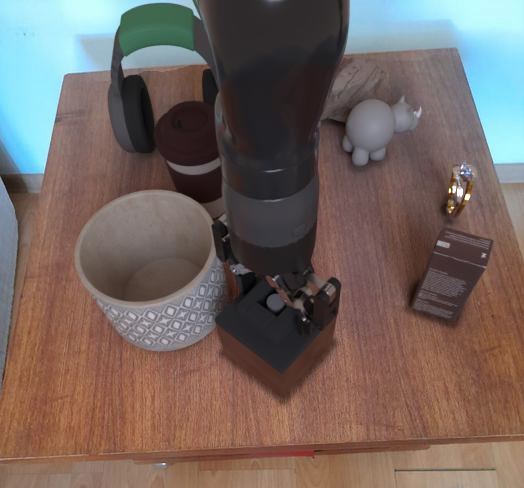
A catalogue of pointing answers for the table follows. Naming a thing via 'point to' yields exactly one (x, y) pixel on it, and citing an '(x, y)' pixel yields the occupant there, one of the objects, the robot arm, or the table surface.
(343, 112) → the stone
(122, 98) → the headphones
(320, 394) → the table surface
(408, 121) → the chubby cartoon animal
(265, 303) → the top pad
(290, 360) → the base pad
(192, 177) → the coffee cup
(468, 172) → the ring
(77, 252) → the planter
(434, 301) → the box
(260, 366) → the stand
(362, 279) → the table surface
